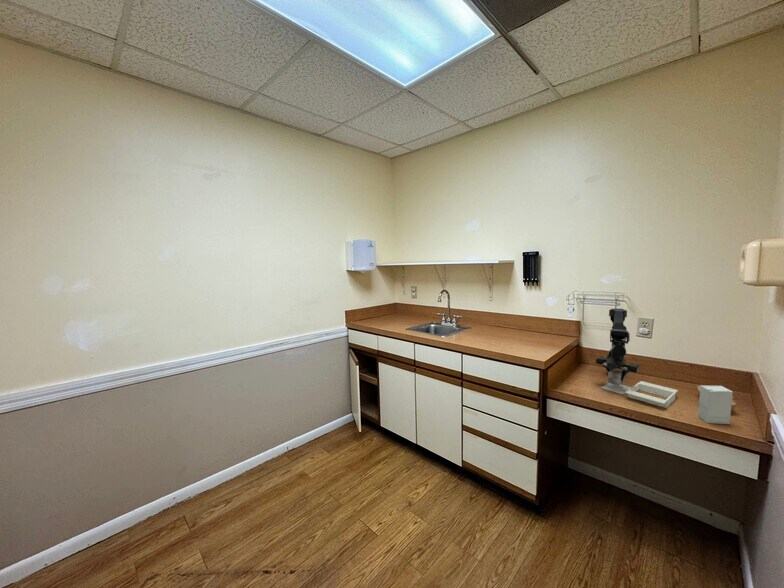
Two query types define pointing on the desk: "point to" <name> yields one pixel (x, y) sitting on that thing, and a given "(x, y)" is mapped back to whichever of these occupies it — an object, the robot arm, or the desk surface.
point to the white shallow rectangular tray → (654, 390)
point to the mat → (616, 388)
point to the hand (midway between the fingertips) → (616, 379)
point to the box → (615, 377)
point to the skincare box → (715, 404)
